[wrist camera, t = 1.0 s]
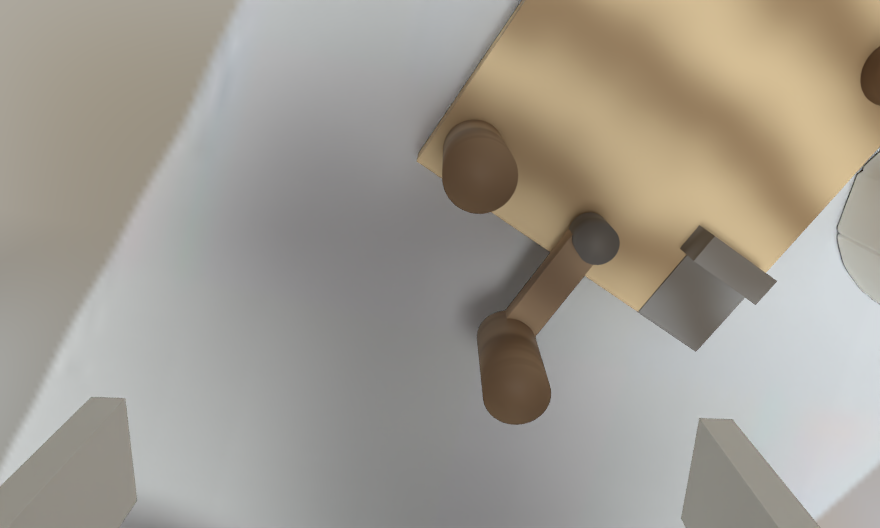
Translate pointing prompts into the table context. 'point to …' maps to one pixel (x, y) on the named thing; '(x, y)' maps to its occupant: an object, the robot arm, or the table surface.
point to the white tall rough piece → (863, 230)
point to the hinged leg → (536, 322)
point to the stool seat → (668, 137)
